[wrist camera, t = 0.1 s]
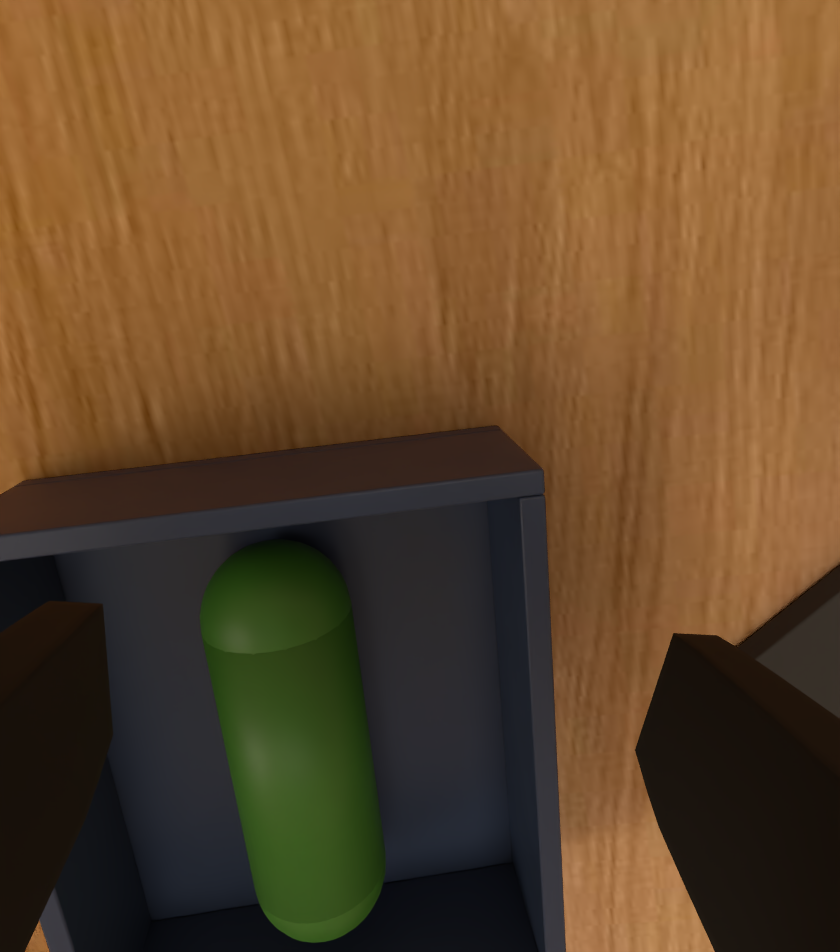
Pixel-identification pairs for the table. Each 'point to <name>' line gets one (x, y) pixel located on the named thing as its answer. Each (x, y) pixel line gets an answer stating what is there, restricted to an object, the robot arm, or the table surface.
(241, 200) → the table surface
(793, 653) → the mat
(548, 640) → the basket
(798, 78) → the table surface
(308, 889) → the cucumber
